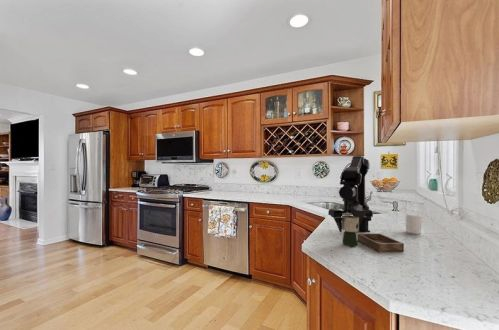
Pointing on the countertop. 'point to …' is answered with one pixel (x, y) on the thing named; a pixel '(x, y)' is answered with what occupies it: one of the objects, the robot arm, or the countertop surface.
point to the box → (380, 242)
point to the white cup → (413, 223)
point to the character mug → (350, 229)
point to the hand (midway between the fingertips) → (350, 231)
